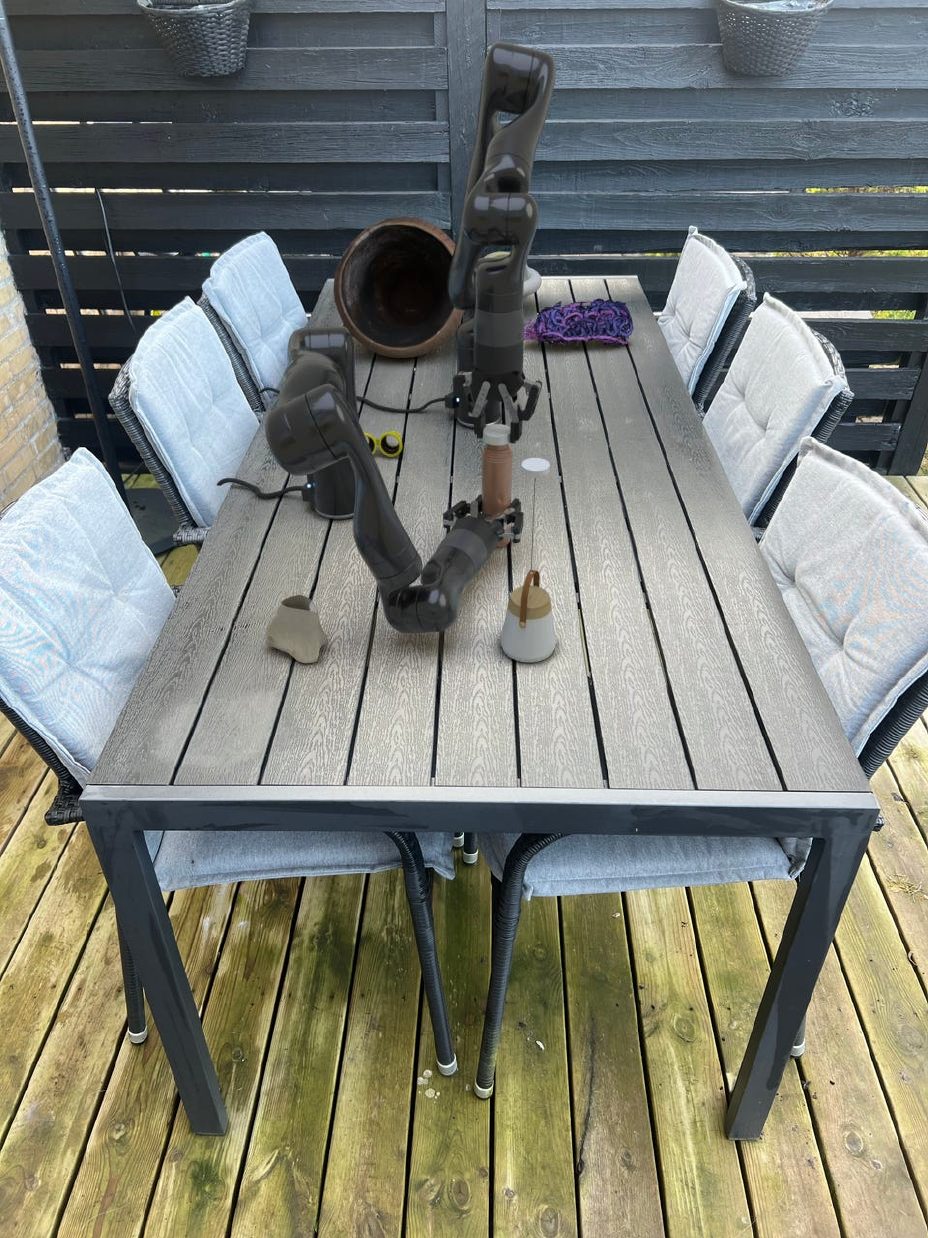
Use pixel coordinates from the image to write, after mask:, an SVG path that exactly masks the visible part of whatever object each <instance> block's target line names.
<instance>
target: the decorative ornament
mask: <svg viewBox="0 0 928 1238" xmlns="http://www.w3.org/2000/svg"><path fill="white" fill-rule="evenodd" d="M562 302H563V301H562V300H560V301H558V302H556V303H555V304H554V305H553V306H545V307H544V308H542V309H541V310H540V311H539V312H538V317H536V319H535V321H534V322H532V317H529V318H528V321H526V322H524V341H526V342H525V344H526V343H528V341H530V343H531V342H533V341H536V342H538V344H537V346H538V347H540V345H542V343H547V344H548V345H550V346H560V344H562V345H564V346H565V345H568V344H569V343H571V344H575V346H576V347H578V344H579V343H580V342H587V343H589V342H593V341H595V342H596V341H602V342H603V345H604V346H611V345H621V346H625V345H629V341H628V340H630V336H632V334H633V331H634V323H633V317H632V316H631V313H630V310H629V308H628V307H627V302H623V301H618V300H611V299H607V300H604V299H603V298H595V299H593V301H589V305H583V304H586V303H588V301H574V302H571V303H569V304H566V305H564V306H562ZM561 306H562V307H561ZM527 340H528V341H527Z"/></svg>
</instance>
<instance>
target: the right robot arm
mask: <svg viewBox="0 0 928 1238" xmlns="http://www.w3.org/2000/svg"><path fill="white" fill-rule="evenodd" d="M556 71H557V66H556V60H555V58H554V56H553V55H552V54H550V53H549V52H546V51H543V50H540V49H536V48H535V49H534V48H532V47H529V46H528V47H527V46H524V45H519V44H514V43H509V42H501V41H497V42H494V43H493V44H492V45H491V46H490V48H489V50H488V51H487V54H486V57H485V61H484V65H483V70H482V76H481V83H480V92H479V102H478V110H477V111H478V112H477V122H476V128H475V129H476V130H475V138H474V143H473V149H472V154H471V159H470V164H469V167H468V172H467V178H466V182H465V187H464V188H465V189H464V196H463V203H462V211H461V217H460V223H459V230H458V234H457V239H456V242H455V249H454V253H453V256H452V260H451V263H450V267H449V272H448V279H447V293H448V298H449V301H450V303H451V305H452V306H453V307H454V308H455V309H457V310H465V311H473V310H474V315H473V316H471V317H470V318H468V319H466V320H464V321H463V322H460V325H459V326H458V328H457V329H456V331H455V337H456V338H455V339H456V340H455V341H456V344H455V345H456V374H455V375H454V376H453V377H452V391H451V392H449V393H447V394H446V395H444V397H438V398H435V399H432V400H429V401H427V402H426V403H425V404H423V405H422V406H420V407H417V408H413V409H412V408H411V409H400V408H394V407H390V406H385V405H381V404H380V405H379V404H377V403H375V402H373V401H371V400H370V399H367V398H365V397H363V396H359V395H356V399H357V400H359V401H362V402H364V403H365V404H368V405H370V406H372V407H373V408H376V409H378V410H383V411H387V412H394V413H403V414H411V413H418V412H419V413H420V412H422V411H424V410H425V409H427V408H428V407H429V406H431V405H432V404H436V403H440V402H444V407H445V408H447V409H449V410H453V419H454V420H456V421H457V422H458V424H460V425H461V426H463V427H466V428H471V429H473V433H474V435H476V438H477V439H480V440H483V429H484V428H485V427H486V426H488V425H492V424H500V423H501V421H502V410H501V409H502V403H504V406H505V409H506V411H507V412H508V414H509V417H510V420H511V421H510V424H509V425H510V426H509V427H510V442H509V444H513V445H515V444H516V443H517V442H518V441H519V440H520V439H521V437H522V435H523V422H524V421H525V422H529V421H530V420H531V418H532V417H533V416H534V414H535V411H536V408H537V405H538V402H539V398H540V396H541V395H540V394H541V391H542V388H543V382H542V381H541V380H539V379H538V380H536V381H533V380H530V379H527V377H526V375H525V373H524V346H525V340H524V333H525V332H524V329H525V328H524V327H525V325H524V324H525V314H524V301H523V292H524V275H525V268H526V264H527V263H528V259H529V254H530V251H531V247H532V245H533V241H534V239H535V236H536V232H537V229H538V226H539V221H540V210H539V206H538V203H537V201H536V200H535V198H534V197H533V196H532V195H531V194H530V193H529V192H530V189H531V185H532V184H531V183H532V177H533V171H534V162H535V161H534V160H535V157H536V152H537V148H538V145H539V142H540V139H541V136H542V134H543V130H544V127H545V123H546V120H547V117H548V113H549V110H550V106H551V103H552V97H553V93H554V88H555V83H556V75H557V73H556ZM500 113H505V114H509V115H514V116H517V117H515V118H513V120H511V121H509V122H508V123H507V124H505V125H504V126H503V127H502V126H501V120H500ZM489 247H497V248H498V247H499V248H500V247H501V248H502V247H504V248H508V247H509V248H511V252H510V254H509V255H508V256H506V257H504V258H501V259H497V258H495V257H489V258H484V257H481V256H482V255H483V253H484V252H485V251H486V250H487V249H488V248H489ZM522 387H523V388H524V390H525V391H524V393H525V395H526V396H527V399H526V402H525V407H524V409H523V408H522V404H521V397H520V394H519V391H520V390H521V389H522ZM267 391H270V392H274V393H276V394H278V395H279V393H280V389H276V388H274V387H269V386H267V387H266V386H265V387H263V388H262V389H260V390H259V391H258V394H263V393H265V392H267Z"/></svg>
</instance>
